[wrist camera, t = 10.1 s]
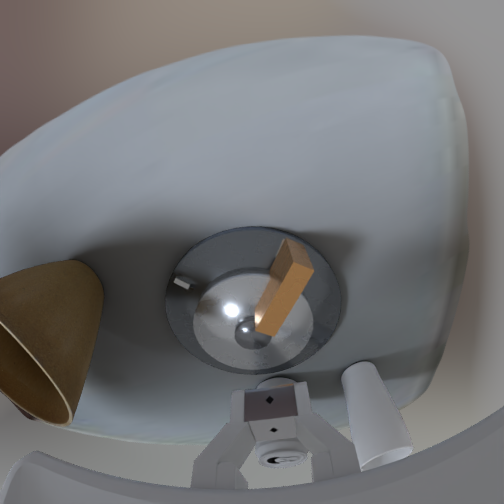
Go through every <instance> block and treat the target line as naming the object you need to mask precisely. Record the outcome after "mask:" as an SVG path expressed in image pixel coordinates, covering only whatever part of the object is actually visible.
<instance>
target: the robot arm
mask: <svg viewBox="0 0 504 504" xmlns="http://www.w3.org/2000/svg"><path fill="white" fill-rule="evenodd" d="M295 437H297V438H298V439H299V441H300V442H301V443H302V444H303V445H304V446H305V447H306V448H307V449H308V450H309V451H310V452H311V453H312V454H313V456H312V457H311V462H312V463H311V464H312V483H306V484H300V485H293V486H283V487H273V488H260V489H248V482H247V481H246V479H245V478H244V476H243V475H242V474H241V472H240V471H239V469H240V468H241V466H242V465H243V463H244V462H245V460H246V459H247V457H248V456H249V454H250V453H251V451H252V449H253V448H254V446H255V445H256V442H261V441H269V440H277V439H287V438H295ZM0 504H504V406H503V407H502V408H500V409H499V410H497V411H496V412H494V413H493V414H491V415H490V416H488V417H486V418H485V419H483V420H481V421H480V422H478V423H477V424H475V425H473V426H471V427H470V428H468V429H466V430H464V431H462V432H460V433H459V434H457V435H455V436H453V437H451V438H449V439H447V440H445V441H443V442H441V443H439V444H437V445H434V446H432V447H430V448H427V449H425V450H423V451H420V452H418V453H415V454H413V455H410V456H408V457H405V458H403V459H400V460H397V461H394V462H391V463H388V464H385V465H382V466H379V467H376V468H373V469H369V470H366V471H362V472H361V469H360V465H359V461H358V457H357V453H356V449H355V445H354V444H353V443H352V442H350V441H349V440H348V439H347V438H346V437H344V436H343V435H342V434H341V433H340V432H338V431H337V430H336V429H335V428H334V427H332V426H331V425H330V424H329V423H328V422H326V421H325V420H324V419H323V418H322V417H321V416H319V415H318V414H317V413H312V407H311V402H310V397H309V392H308V386H307V383H306V381H305V382H299V383H294V385H293V383H292V384H286V385H279V386H273V387H269V388H259V389H248V390H236V391H233V392H232V397H231V414H230V423H226V425H225V426H224V427H223V428H222V429H221V431H220V432H219V433H218V434H217V435H216V436H215V438H214V439H213V440H212V441H211V442H210V443H209V445H208V446H207V447H206V448H205V449H204V450H203V451H202V453H201V454H200V455H199V456H198V457H197V458H196V459H195V460H194V465H193V472H192V481H191V488H185V487H174V486H166V485H158V484H152V483H146V482H140V481H135V480H130V479H125V478H121V477H116V476H112V475H108V474H104V473H101V472H96V471H93V470H90V469H87V468H83V467H80V466H77V465H74V464H71V463H69V462H65V461H63V460H60V459H57V458H55V457H52V456H50V455H48V454H45V453H43V452H40V451H33V452H31V453H29V454H28V455H26V456H24V457H23V458H21V459H20V460H18V461H17V462H16V463H15V464H14V465H13V467H12V468H11V470H10V472H9V473H8V476H7V478H6V480H5V482H4V484H3V487H2V489H1V492H0Z"/></svg>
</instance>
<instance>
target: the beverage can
mask: <svg viewBox="0 0 504 504" xmlns="http://www.w3.org/2000/svg"><path fill="white" fill-rule="evenodd" d="M292 383H293V385H294V383H297V382H295V381H293V380H291V379H288V378H282V377H277V378H271V379H268V380H266V381H264V382H262V383H261V384H259V385H258V386H257V388H256V389H259V388H269V387H273V386H279V385H286V384H292ZM308 451H309V450H308V449H307V448H306V447H305V446H304V445H303V444H302V443H301V442H300V441H299V439H298V438H297V437H295V438H287V439H277V440H269V441H261V442H256V445H255V454H256V456H257V457H258V458H259V463H260V464H261V465H262V466H265V467H270V468H287V467H292V466H296V465H299V464H301V463H303V462H304V461H306V460H307V453H308Z"/></svg>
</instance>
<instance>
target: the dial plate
mask: <svg viewBox="0 0 504 504" xmlns="http://www.w3.org/2000/svg"><path fill="white" fill-rule="evenodd" d="M286 238H288V239H291V240H293V241H295V242H298V243H300V244H303V245H304V247H305V249H306V252H307V254H308V256H309V259H310V261H311V263H312V266H313V268H314V272H313V274H312V276H311V277H310V279H309V281H308V283H307V284H306V286H305V288H304V289H303V291H304V293H305V294H306V297H307V299H308V302H309V305H310V308H311V312H312V316H313V330H312V334H311V337H310V339H309V341H308V343H307V344H306V346H305V347H304V348H303V350H302V351H301V352H300V353H299V354H297V355H296V356H295V357H294V358H292V359H291V360H289V361H287V362H285V363H283V364H281V365H278V366H275V367H271V368H267V369H260V370H248V369H240V368H235V367H231V366H228V365H226V364H223V363H221V362H219V361H218V360H216V359H214V358H213V357H211V356H210V355H209V354H208V353H207V352H206V351H205V350H204V349H203V348H202V347H201V345H200V344H199V342H198V340H197V338H196V336H195V333H194V328H193V319H194V314H195V310H196V307H197V303H198V300H199V298H200V295H201V293H202V292H203V290H204V289H205V288H206V286H207V285H208V284H209V283H210V282H212V281H213V280H214V279H215V278H217V277H219V276H220V275H222V274H224V273H226V272H229V271H232V270H235V269H239V268H245V267H260V268H267V269H270V268H271V266H272V264H273V262H274V260H275V258H276V256H277V254H278V252H279V251H280V249H281V247H282V245H283V243H284V241H285V239H286ZM165 308H166V314H167V318H168V321H169V324H170V327H171V329H172V331H173V332H174V334H175V336H176V337H177V339H178V340H179V342H180V343H181V344H182V345H183V346H184V347H185V348H186V349H187V350H188V351H189V352H190V353H191V354H193V355H194V356H195V357H197V358H198V359H200V360H201V361H203V362H205V363H207V364H209V365H211V366H213V367H216V368H218V369H221V370H225V371H228V372H233V373H239V374H256V375H257V374H268V373H274V372H278V371H282V370H285V369H288V368H291V367H293V366H296V365H298V364H300V363H302V362H303V361H305V360H307V359H308V358H310V357H311V356H312V355H314V354H315V353H316V352H317V351H319V349H320V348H321V347H322V346H323V345H324V344H325V343H326V342H327V341H328V339H329V338H330V337H331V335H332V333H333V331H334V330H335V327H336V325H337V322H338V320H339V315H340V311H341V294H340V289H339V285H338V282H337V279H336V277H335V275H334V273H333V271H332V269H331V267H330V266H329V264H328V263H327V261H326V260H325V258H324V257H323V256H322V255H321V254H320V253H319V252H318V251H317V250H316V249H315V248H314V247H313V246H311V245H310V244H309V243H307V242H306V241H304V240H302V239H301V238H299V237H297V236H295V235H292V234H290V233H288V232H284V231H281V230H277V229H273V228H266V227H241V228H234V229H230V230H225V231H222V232H219V233H217V234H214V235H212V236H210V237H208V238H206V239H204V240H202V241H201V242H199V243H198V244H197V245H195V246H194V247H193V248H191V249H190V250H189V251H188V252H187V253H186V254H185V255H184V256H183V258H182V259H181V260H180V262H179V263H178V265H177V266H176V268H175V270H174V272H173V274H172V276H171V278H170V280H169V283H168V286H167V290H166V297H165Z"/></svg>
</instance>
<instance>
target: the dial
mask: <svg viewBox="0 0 504 504" xmlns="http://www.w3.org/2000/svg"><path fill="white" fill-rule="evenodd" d="M313 272H314V268H313V266H312V263H311V261H310V259H309V256H308V254H307V252H306V249H305V247H304V245H303V244H300V243H298V242H295V241H293V240H291V239H288V238H286V239H285V241H284V243H283V245H282V247H281V249H280V251H279V252H278V254H277V256H276V258H275V260H274V262H273V264H272V266H271V268H270V269H267V268H260V267H245V268H239V269H235V270H232V271H229V272H226V273H224V274H222V275H220V276H219V277H217V278H215V279H214V280H213V281H212V282H210V283H209V284H208V285H207V286H206V288H205V289H204V290H203V292H202V293H201V295H200V298H199V300H198V303H197V307H196V310H195V314H194V319H193V328H194V333H195V336H196V338H197V340H198V342H199V344H200V345H201V347H202V348H203V349H204V350H205V351H206V352H207V353H208V354H209V355H210V356H211V357H213V358H214V359H216V360H218V361H219V362H221V363H223V364H226V365H228V366H231V367H235V368H240V369H248V370H260V369H267V368H271V367H275V366H278V365H281V364H283V363H285V362H287V361H289V360H291V359H292V358H294V357H295V356H296V355H297V354H299V353H300V352H301V351H302V350H303V348H304V347H305V346H306V344H307V343H308V341H309V339H310V337H311V334H312V330H313V316H312V312H311V308H310V305H309V302H308V299H307V297H306V294H305V293H304V291H303V289H304V288H305V286H306V284H307V283H308V281H309V279H310V277H311V276H312V274H313Z"/></svg>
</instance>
